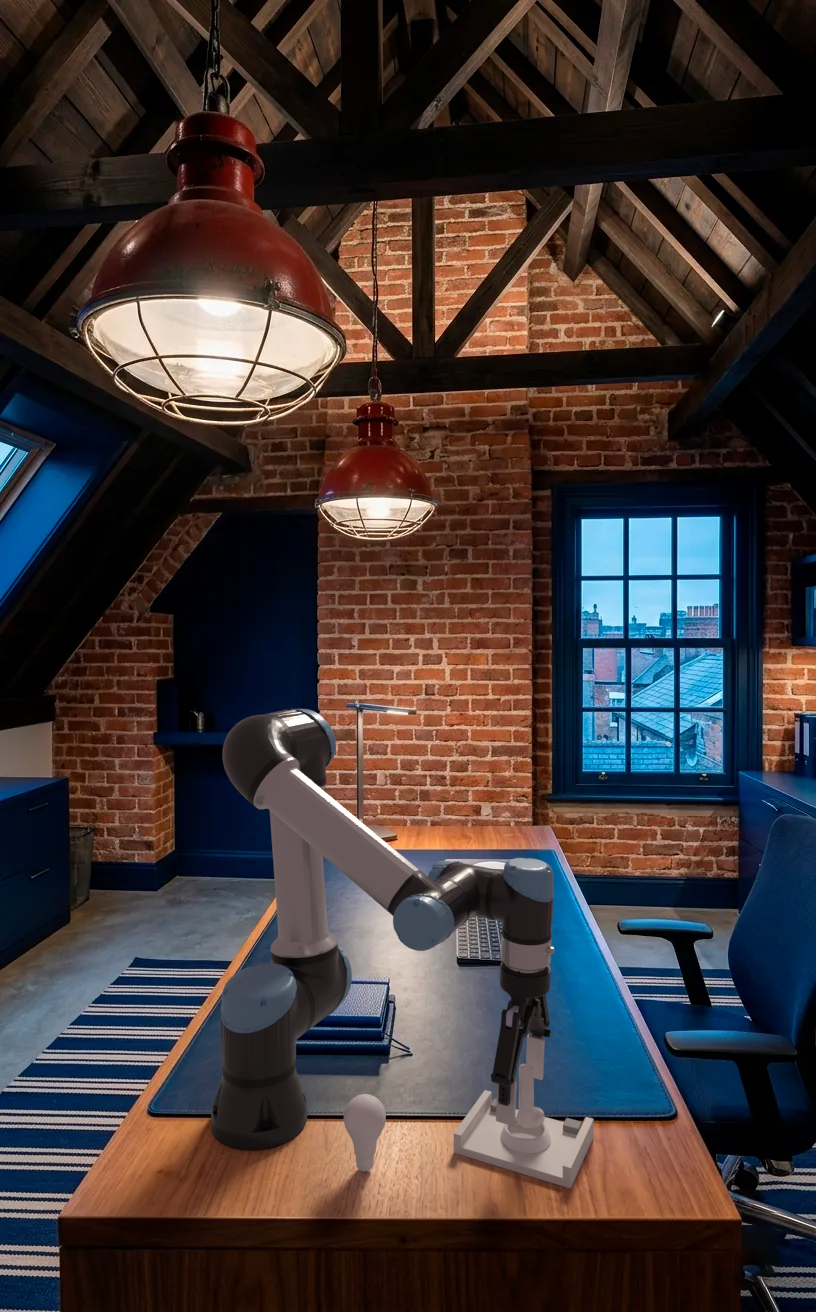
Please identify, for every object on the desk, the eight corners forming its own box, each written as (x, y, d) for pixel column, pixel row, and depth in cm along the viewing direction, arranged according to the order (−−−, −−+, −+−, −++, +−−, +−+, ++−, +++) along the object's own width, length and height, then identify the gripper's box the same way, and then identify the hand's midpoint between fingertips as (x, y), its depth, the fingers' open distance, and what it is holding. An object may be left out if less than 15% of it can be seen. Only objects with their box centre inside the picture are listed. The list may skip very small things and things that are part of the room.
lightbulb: (391, 1162, 125) (391, 1089, 124) (376, 1188, 119) (376, 1112, 119) (353, 1153, 127) (353, 1082, 126) (337, 1179, 121) (336, 1104, 121)
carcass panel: (453, 1152, 127) (453, 1133, 127) (484, 1107, 139) (484, 1089, 139) (570, 1188, 119) (570, 1168, 119) (593, 1137, 131) (593, 1118, 131)
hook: (536, 1072, 137) (555, 1066, 132) (540, 1157, 131) (559, 1155, 125) (494, 1068, 136) (511, 1062, 130) (495, 1154, 129) (513, 1151, 124)
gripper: (522, 1002, 115) (517, 1152, 116) (572, 939, 137) (567, 1066, 138) (471, 990, 118) (466, 1136, 119) (527, 930, 140) (523, 1054, 142)
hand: (520, 1098), depth 129 cm, fingers open, 13 cm apart
